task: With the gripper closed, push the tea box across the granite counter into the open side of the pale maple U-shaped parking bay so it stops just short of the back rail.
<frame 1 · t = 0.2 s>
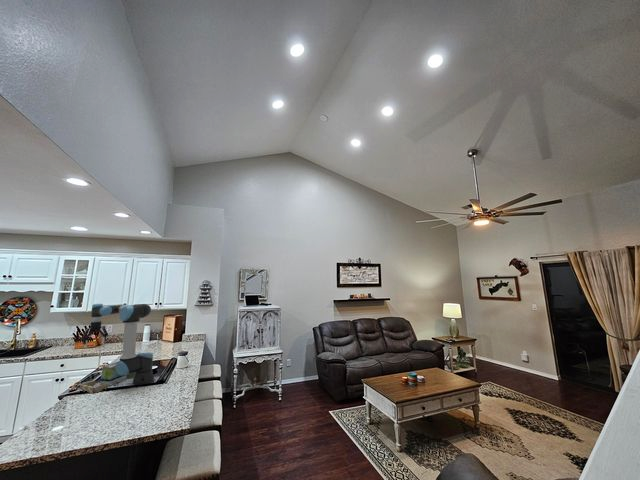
hand: (94, 346, 243), 28 cm above the counter, fingers open, 13 cm apart
bay: (93, 389, 218), on the counter
tea box: (113, 382, 232), on the counter
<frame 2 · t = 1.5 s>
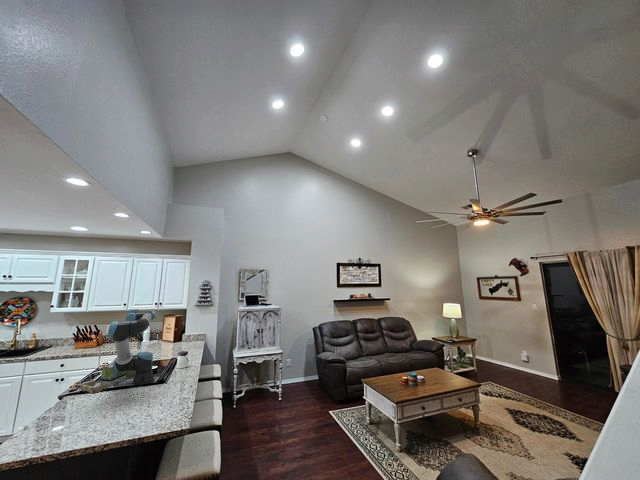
hand: (131, 350, 248), 22 cm above the counter, fingers open, 13 cm apart
nothing on the counter moved.
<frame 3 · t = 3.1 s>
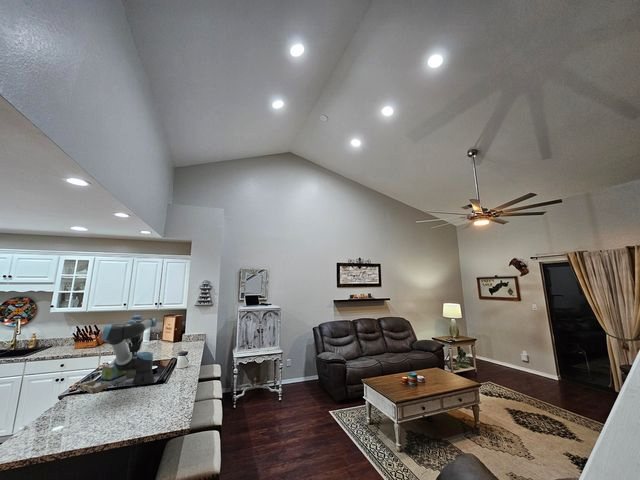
hand: (134, 359, 248), 14 cm above the counter, fingers closed
nothing on the counter moved.
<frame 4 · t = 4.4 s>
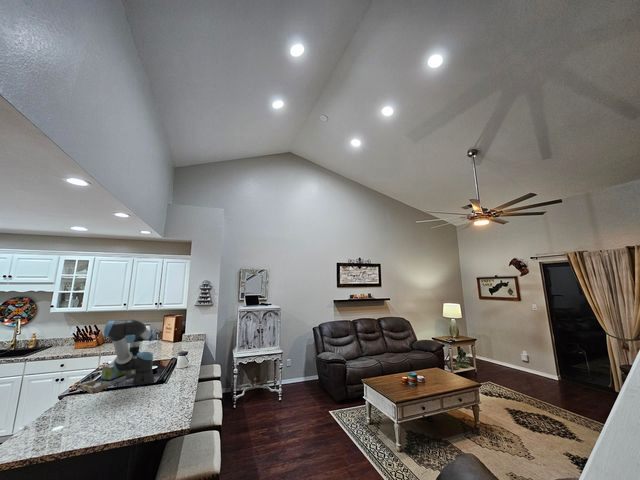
hand: (132, 373, 246), 2 cm above the counter, fingers closed
nothing on the counter moved.
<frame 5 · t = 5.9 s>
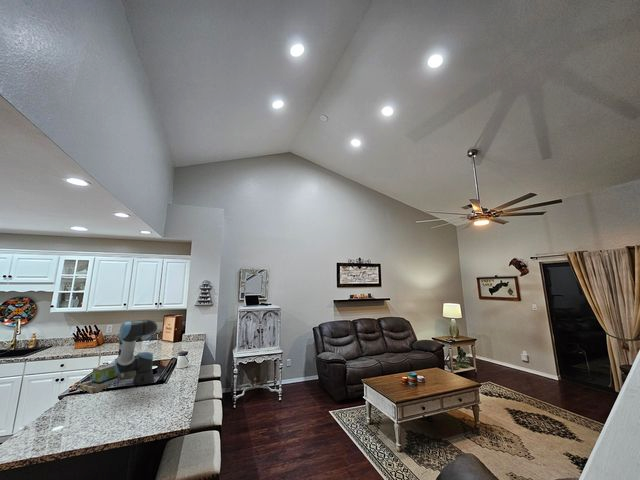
hand: (122, 376, 239), 2 cm above the counter, fingers closed
tea box: (104, 385, 227), on the counter, touching hand
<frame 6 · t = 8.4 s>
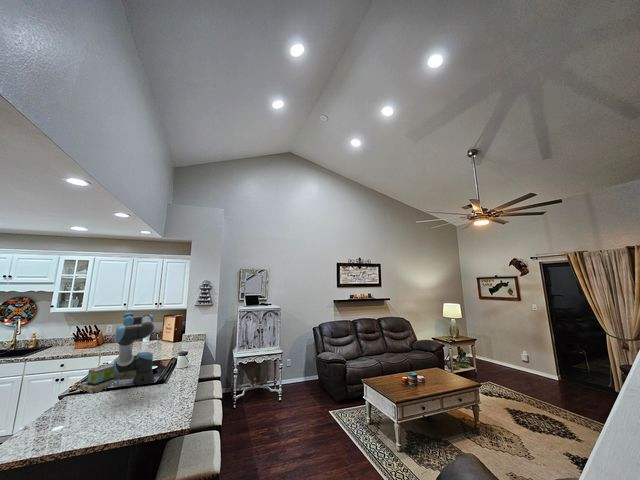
hand: (126, 358, 242), 17 cm above the counter, fingers closed
tea box: (100, 386, 224), on the counter
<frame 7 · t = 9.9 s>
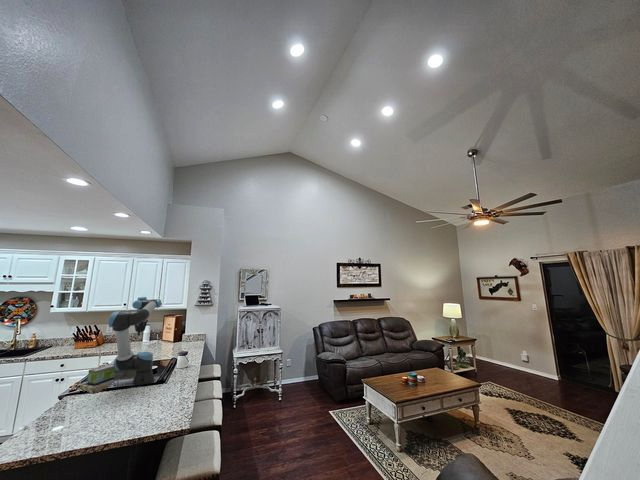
hand: (139, 338, 261), 29 cm above the counter, fingers closed
nothing on the counter moved.
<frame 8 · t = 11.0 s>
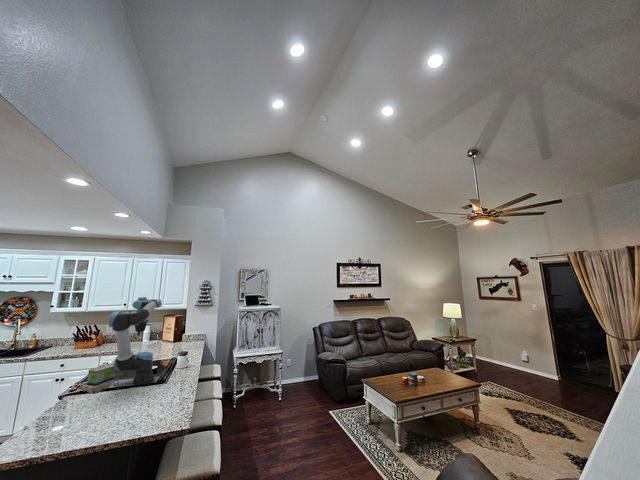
hand: (139, 338, 261), 29 cm above the counter, fingers closed
nothing on the counter moved.
at the end: tea box inside the target area (2.1 cm from its centre), on the counter; tea box tilted 0° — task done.
